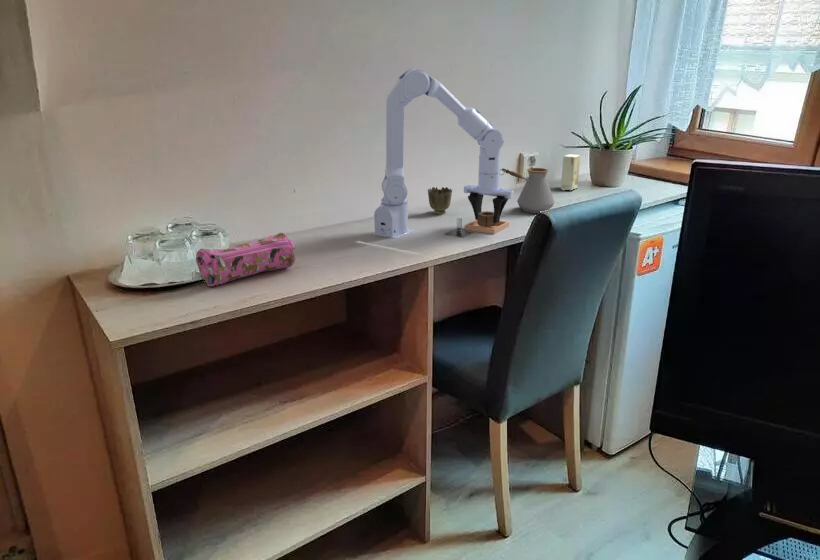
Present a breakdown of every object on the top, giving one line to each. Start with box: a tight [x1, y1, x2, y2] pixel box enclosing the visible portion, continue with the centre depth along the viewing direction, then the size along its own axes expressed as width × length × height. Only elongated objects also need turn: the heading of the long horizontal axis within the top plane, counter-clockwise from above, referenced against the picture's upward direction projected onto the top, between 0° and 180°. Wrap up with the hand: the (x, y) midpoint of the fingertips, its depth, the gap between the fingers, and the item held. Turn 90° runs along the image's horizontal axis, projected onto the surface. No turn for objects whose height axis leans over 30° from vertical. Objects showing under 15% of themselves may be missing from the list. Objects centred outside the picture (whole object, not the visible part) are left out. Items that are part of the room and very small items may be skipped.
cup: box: [427, 186, 453, 216], centre depth 191 cm, size 8×7×8 cm
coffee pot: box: [500, 167, 555, 214], centre depth 191 cm, size 21×12×15 cm, turn 125°
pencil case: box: [195, 232, 296, 287], centre depth 141 cm, size 21×9×9 cm, turn 128°
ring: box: [477, 210, 497, 227], centre depth 175 cm, size 5×5×3 cm
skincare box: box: [560, 153, 581, 191], centre depth 221 cm, size 6×4×12 cm
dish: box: [464, 219, 510, 235], centre depth 176 cm, size 9×9×2 cm
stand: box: [444, 217, 475, 238], centre depth 171 cm, size 6×6×5 cm
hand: (487, 220), depth 175 cm, fingers open, 5 cm apart
